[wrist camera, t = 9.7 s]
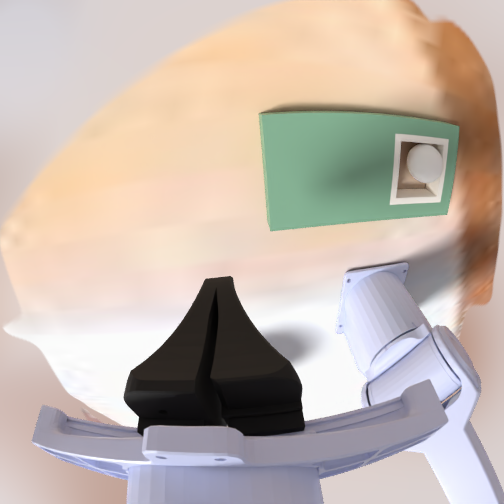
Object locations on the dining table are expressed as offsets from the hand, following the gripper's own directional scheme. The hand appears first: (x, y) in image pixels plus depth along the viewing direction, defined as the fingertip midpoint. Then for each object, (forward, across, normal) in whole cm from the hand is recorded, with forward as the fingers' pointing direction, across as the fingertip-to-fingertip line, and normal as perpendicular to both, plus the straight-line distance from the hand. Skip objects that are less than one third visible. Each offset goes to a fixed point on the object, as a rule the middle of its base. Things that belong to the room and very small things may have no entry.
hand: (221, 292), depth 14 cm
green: (+10, -12, -3) cm, 17 cm away
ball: (+9, -18, -4) cm, 20 cm away
